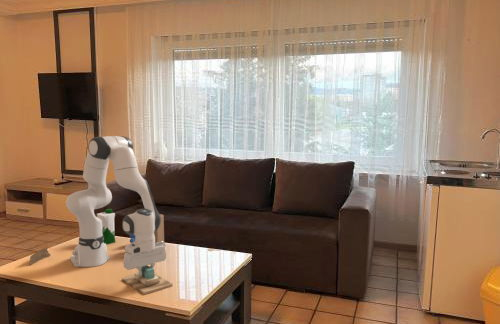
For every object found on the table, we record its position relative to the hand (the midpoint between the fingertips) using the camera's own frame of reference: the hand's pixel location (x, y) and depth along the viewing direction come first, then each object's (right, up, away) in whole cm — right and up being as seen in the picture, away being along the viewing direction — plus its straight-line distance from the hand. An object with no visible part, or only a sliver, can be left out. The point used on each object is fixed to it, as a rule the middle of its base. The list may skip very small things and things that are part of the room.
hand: (145, 273), depth 192 cm
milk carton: (-39, +3, +60) cm, 72 cm away
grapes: (-20, +2, +56) cm, 60 cm away
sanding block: (0, -3, 0) cm, 3 cm away
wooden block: (-8, +1, +47) cm, 48 cm away
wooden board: (0, -4, 0) cm, 4 cm away
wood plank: (-64, -1, +29) cm, 70 cm away
